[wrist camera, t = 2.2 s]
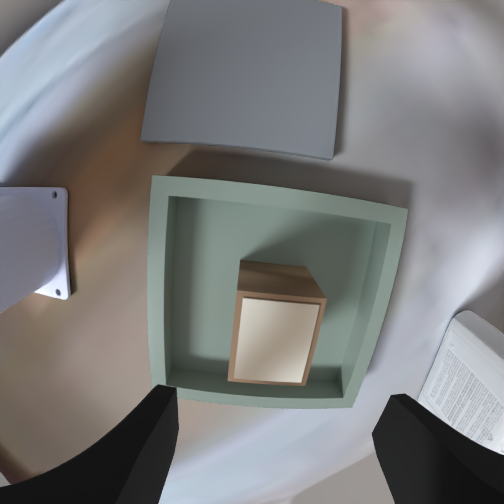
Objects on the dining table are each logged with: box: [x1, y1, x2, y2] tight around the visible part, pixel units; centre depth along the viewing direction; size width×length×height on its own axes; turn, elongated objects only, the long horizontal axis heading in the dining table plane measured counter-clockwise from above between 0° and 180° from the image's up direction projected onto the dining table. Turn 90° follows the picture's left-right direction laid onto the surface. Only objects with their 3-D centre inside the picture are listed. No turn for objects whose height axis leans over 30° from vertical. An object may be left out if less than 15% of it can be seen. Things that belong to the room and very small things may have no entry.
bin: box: [147, 175, 408, 409], centre depth 17 cm, size 14×14×2 cm
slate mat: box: [140, 0, 342, 161], centre depth 14 cm, size 11×11×1 cm
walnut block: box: [228, 260, 327, 386], centre depth 16 cm, size 4×5×5 cm
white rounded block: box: [418, 310, 504, 455], centre depth 14 cm, size 10×4×12 cm, turn 175°
